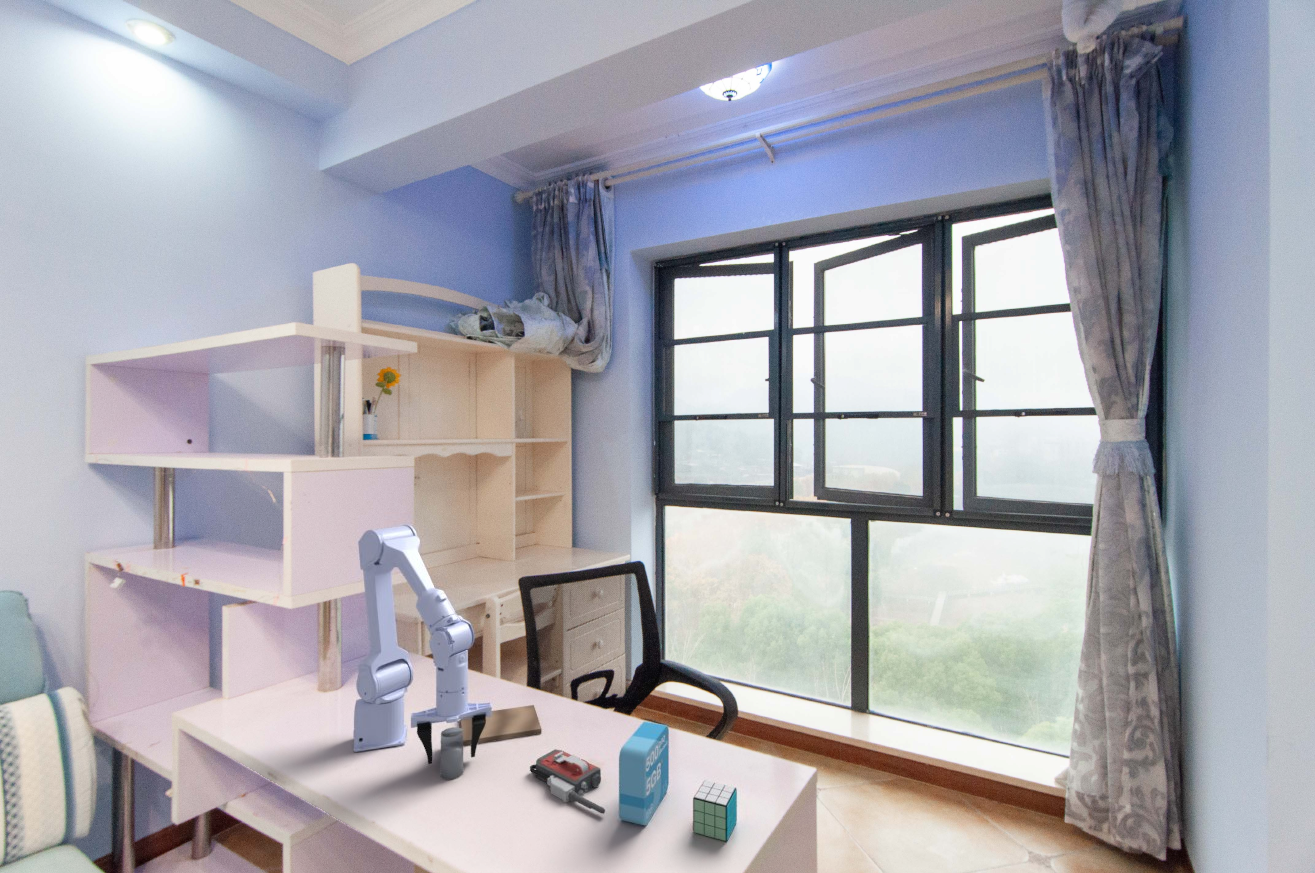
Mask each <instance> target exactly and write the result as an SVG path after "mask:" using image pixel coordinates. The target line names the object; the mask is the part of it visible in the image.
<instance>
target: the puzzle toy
mask: <svg viewBox="0 0 1315 873" xmlns="http://www.w3.org/2000/svg"><path fill="white" fill-rule="evenodd" d="M737 790H738V789H737V787H735V786H732V785H729V784H727V785H726V784H723V783H718V782H715V781H711V780H707V779H705V780H704V781H703V782H702V783H701V785H700V786H699V788H698V790H697V791H696V793H695V794H694V796H693V798H692V832H693V833H695V834H699V835H701V836H704V837H709V838H712V839H716V840H720V841H723V842H727V841H728V840H729V838H730V836H731V834H732V832H733V830H734V827H735V826H736V823H737V822H738V819H737V818H738V817H737V816H738V815H737V812H738V810H737V809H738V800H737V799H738V798H737V797H738V794H737V792H738V791H737Z"/></svg>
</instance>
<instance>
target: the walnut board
mask: <svg viewBox="0 0 1315 873" xmlns="http://www.w3.org/2000/svg"><path fill="white" fill-rule="evenodd" d="M460 724H461V725H460V728H461V729H462V730H463V747H464V746H465V747H466V746H471V738H472V718H466V719H460ZM541 734H542V726H541V723H540V720H539V716H538V713H537V710H536V707H535V705H534V704H531V705H524V706H517V707H509V708H504V709H503V708H501V709H496V710H492V716H490V717H486V724H485V727H484V729H483V731H482V733H481V735H480V738H479V740H478V744H482V743H483V744H484V743H488V742H489V743H490V742H494V741H495V742H496V741H501V740H502V741H503V740H507V739H515V738H520V737H521V738H522V737H526V736H534V735H541Z"/></svg>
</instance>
